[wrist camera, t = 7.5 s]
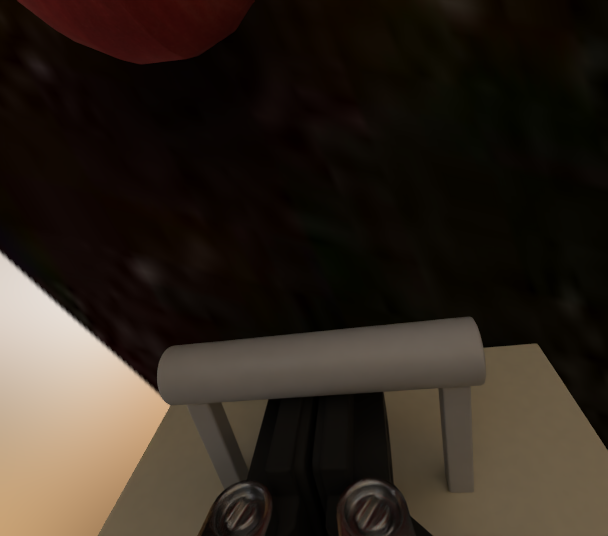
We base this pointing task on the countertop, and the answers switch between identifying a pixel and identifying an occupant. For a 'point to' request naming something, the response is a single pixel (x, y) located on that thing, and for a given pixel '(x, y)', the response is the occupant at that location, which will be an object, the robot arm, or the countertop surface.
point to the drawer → (401, 420)
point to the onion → (143, 25)
